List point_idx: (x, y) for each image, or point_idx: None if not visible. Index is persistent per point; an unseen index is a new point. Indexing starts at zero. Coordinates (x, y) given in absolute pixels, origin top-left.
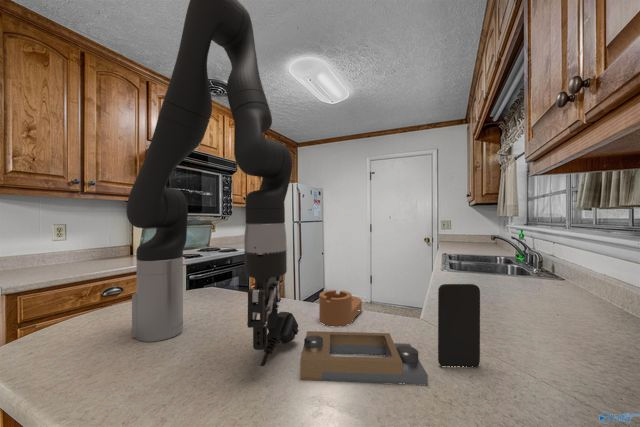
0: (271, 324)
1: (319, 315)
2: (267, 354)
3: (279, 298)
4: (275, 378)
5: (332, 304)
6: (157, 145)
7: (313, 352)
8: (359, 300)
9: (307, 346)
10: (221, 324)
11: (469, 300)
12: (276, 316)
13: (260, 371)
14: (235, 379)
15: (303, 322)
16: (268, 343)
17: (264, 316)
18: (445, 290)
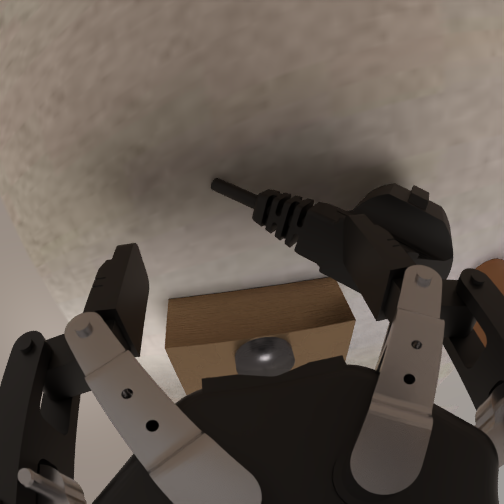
0: (350, 248)
1: (497, 269)
2: (248, 206)
3: (446, 342)
4: (172, 239)
5: (482, 338)
6: None
7: (210, 364)
8: None
9: (239, 350)
10: None
11: None
12: (363, 294)
13: (198, 184)
14: (135, 126)
15: (494, 223)
16: (278, 218)
17: (75, 418)
18: None
